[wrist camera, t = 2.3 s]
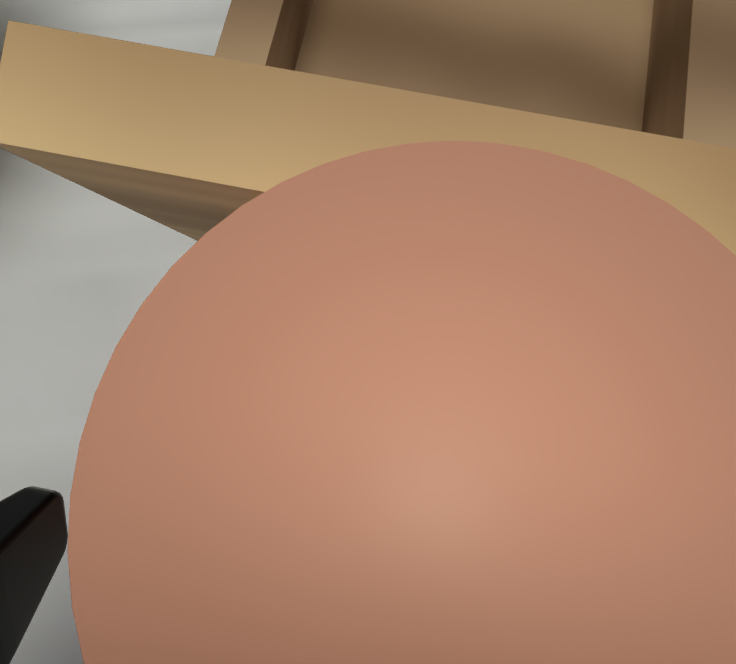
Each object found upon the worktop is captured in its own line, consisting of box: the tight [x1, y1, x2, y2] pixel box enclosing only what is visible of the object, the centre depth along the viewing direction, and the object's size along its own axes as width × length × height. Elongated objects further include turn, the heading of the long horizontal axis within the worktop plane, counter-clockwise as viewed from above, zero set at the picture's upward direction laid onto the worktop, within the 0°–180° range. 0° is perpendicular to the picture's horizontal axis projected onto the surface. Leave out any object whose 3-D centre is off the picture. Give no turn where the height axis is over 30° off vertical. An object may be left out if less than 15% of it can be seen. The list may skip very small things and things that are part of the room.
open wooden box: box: [214, 0, 736, 148], centre depth 17 cm, size 10×12×6 cm
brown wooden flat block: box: [0, 20, 736, 256], centre depth 12 cm, size 4×10×12 cm, turn 79°
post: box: [68, 141, 736, 664], centre depth 10 cm, size 5×5×13 cm
